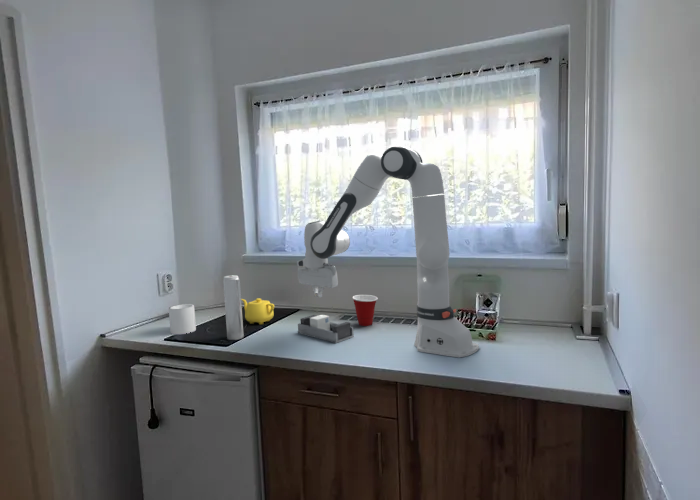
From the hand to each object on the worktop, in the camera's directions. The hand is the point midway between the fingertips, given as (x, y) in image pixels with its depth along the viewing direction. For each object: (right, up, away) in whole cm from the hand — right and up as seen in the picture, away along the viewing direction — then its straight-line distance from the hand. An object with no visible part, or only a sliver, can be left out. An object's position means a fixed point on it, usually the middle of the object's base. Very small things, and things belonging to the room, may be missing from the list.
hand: (318, 296), depth 174 cm
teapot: (-29, -14, +24) cm, 40 cm away
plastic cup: (+19, -13, +13) cm, 27 cm away
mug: (-60, -16, +15) cm, 64 cm away
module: (+1, -14, +1) cm, 14 cm away
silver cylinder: (-33, -17, +1) cm, 37 cm away
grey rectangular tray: (+3, -15, 0) cm, 15 cm away
